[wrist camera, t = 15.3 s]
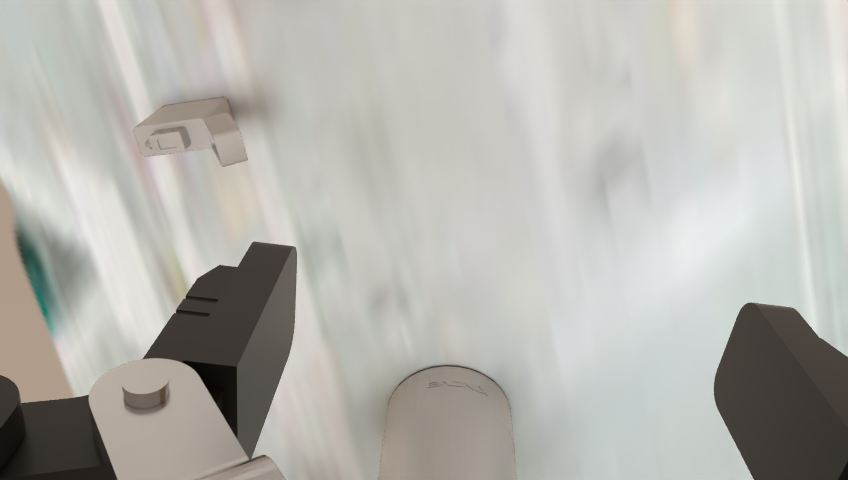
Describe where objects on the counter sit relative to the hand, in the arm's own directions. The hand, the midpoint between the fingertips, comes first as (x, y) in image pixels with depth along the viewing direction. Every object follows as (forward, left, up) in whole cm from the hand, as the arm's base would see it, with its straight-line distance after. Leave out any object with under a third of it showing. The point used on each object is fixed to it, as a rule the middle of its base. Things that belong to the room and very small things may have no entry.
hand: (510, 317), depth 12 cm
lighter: (-7, +14, -30) cm, 34 cm away
